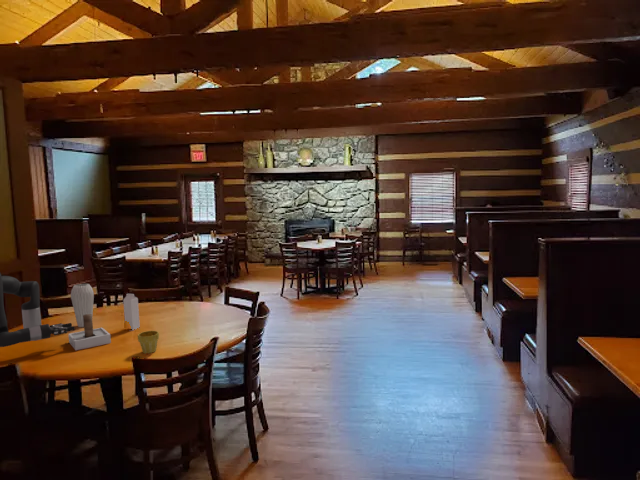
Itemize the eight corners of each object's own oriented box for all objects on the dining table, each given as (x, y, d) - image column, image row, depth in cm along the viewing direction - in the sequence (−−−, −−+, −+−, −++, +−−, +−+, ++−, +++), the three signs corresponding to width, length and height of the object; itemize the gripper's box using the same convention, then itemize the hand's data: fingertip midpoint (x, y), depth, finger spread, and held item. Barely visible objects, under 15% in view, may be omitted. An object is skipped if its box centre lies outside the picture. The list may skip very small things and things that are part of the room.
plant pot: (142, 356, 242) (140, 337, 241) (136, 351, 250) (135, 333, 249) (162, 351, 248) (161, 333, 247) (156, 346, 256) (155, 329, 255)
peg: (85, 342, 268) (83, 314, 266) (94, 341, 270) (92, 313, 268) (85, 344, 264) (82, 316, 262) (93, 343, 266) (91, 315, 264)
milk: (132, 327, 296) (129, 292, 294) (140, 327, 294) (137, 293, 292) (125, 329, 290) (122, 294, 288) (133, 330, 288) (130, 295, 286)
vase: (68, 328, 298) (64, 287, 295) (83, 322, 311) (80, 282, 308) (86, 328, 294) (82, 287, 292) (101, 322, 307) (97, 283, 305)
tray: (69, 342, 268) (68, 333, 268) (102, 335, 279) (102, 327, 279) (75, 350, 254) (74, 341, 254) (110, 342, 265) (110, 334, 265)
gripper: (40, 328, 245) (75, 322, 255) (36, 322, 256) (70, 317, 266) (42, 342, 246) (76, 335, 256) (38, 336, 257) (71, 330, 267)
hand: (73, 326), depth 261 cm, fingers open, 8 cm apart
